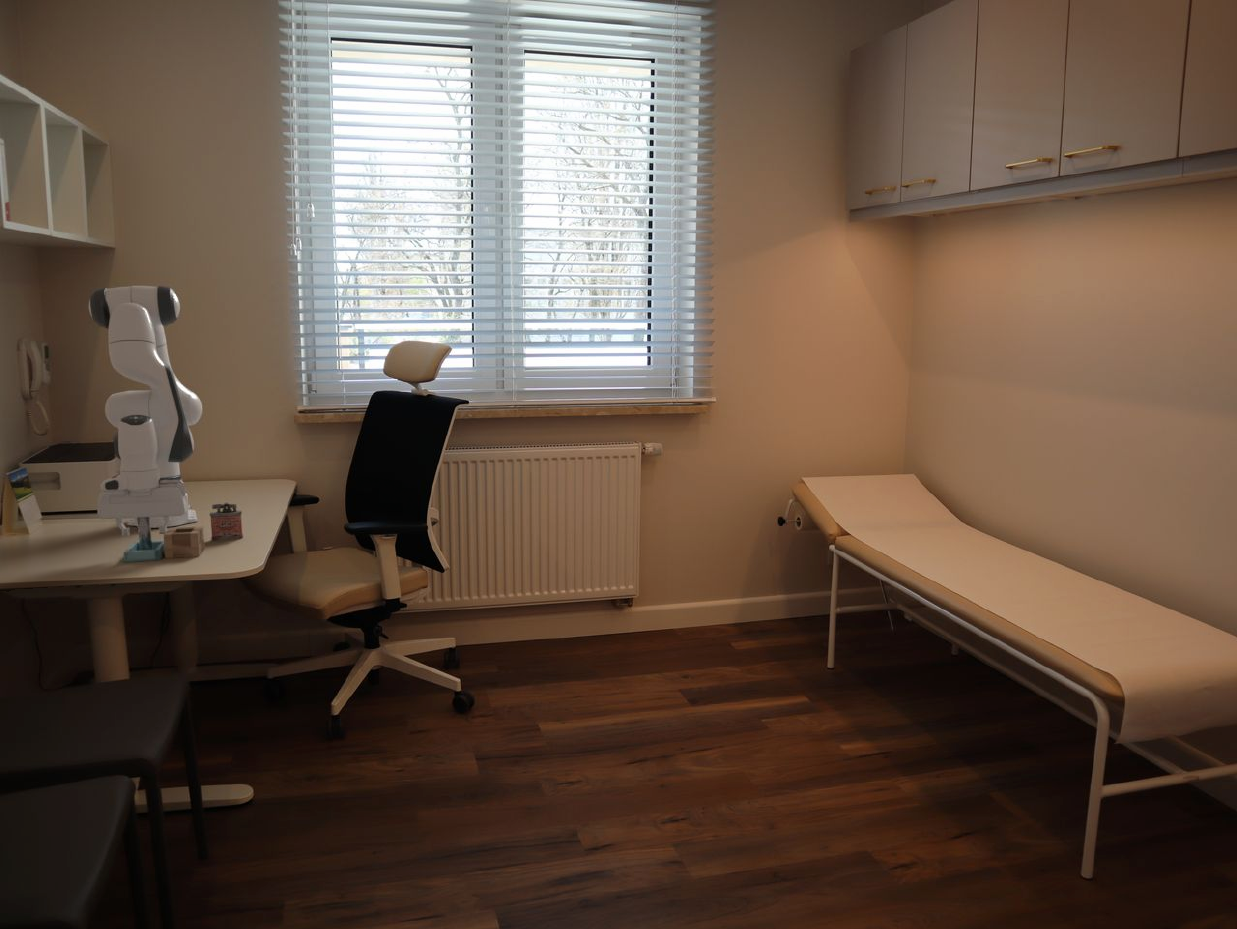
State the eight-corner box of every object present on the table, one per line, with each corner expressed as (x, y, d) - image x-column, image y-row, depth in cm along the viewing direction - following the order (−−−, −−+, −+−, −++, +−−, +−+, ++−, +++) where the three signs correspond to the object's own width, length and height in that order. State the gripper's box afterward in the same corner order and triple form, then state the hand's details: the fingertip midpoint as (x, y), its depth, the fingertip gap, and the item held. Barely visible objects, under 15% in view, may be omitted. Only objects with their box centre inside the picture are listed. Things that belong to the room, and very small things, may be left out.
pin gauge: (141, 553, 252) (137, 510, 250) (153, 552, 252) (149, 510, 251) (139, 555, 249) (135, 513, 247) (151, 555, 250) (147, 512, 248)
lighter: (243, 536, 273) (240, 500, 271) (243, 539, 270) (241, 503, 268) (211, 538, 270) (209, 502, 268) (211, 541, 267) (208, 505, 265)
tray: (134, 551, 255) (133, 542, 255) (168, 550, 257) (167, 540, 257) (124, 562, 245) (123, 552, 244) (159, 560, 246) (158, 550, 246)
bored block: (171, 550, 256) (169, 528, 255) (204, 548, 258) (203, 526, 257) (165, 558, 249) (163, 534, 248) (199, 556, 251) (197, 533, 250)
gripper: (187, 476, 253) (191, 529, 255) (99, 480, 249) (104, 533, 251) (182, 480, 247) (186, 534, 249) (93, 484, 242) (97, 539, 245)
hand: (144, 534), depth 250 cm, fingers open, 7 cm apart
